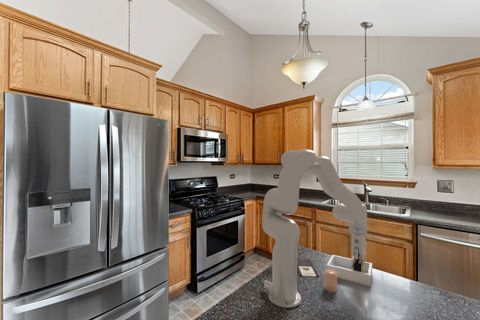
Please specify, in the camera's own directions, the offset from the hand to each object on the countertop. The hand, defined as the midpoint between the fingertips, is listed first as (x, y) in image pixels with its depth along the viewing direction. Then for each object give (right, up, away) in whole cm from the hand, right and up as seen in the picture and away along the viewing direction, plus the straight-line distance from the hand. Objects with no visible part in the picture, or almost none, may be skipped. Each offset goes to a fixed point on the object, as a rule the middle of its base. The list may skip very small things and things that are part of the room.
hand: (358, 268), depth 106 cm
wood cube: (0, -1, 0) cm, 1 cm away
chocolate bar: (-23, -5, +9) cm, 25 cm away
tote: (-3, -4, +2) cm, 5 cm away
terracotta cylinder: (-17, -4, -11) cm, 20 cm away
